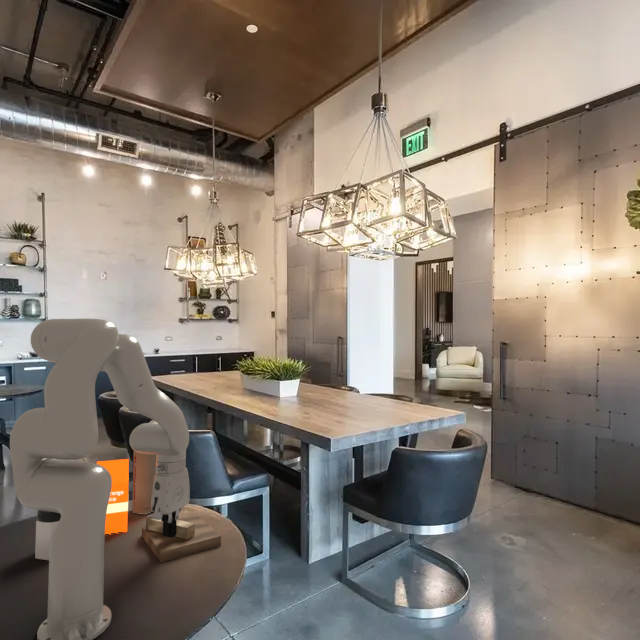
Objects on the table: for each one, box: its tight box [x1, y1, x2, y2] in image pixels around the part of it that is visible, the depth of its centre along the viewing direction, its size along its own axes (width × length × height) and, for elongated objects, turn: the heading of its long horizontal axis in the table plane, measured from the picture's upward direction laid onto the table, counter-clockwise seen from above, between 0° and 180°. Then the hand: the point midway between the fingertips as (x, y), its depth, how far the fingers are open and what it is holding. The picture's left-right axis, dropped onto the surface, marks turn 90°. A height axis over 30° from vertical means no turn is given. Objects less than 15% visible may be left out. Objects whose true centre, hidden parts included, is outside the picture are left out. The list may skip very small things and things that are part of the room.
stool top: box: [141, 513, 222, 563], centre depth 124 cm, size 18×16×2 cm
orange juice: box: [96, 458, 130, 535], centre depth 131 cm, size 8×9×20 cm
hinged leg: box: [145, 513, 195, 539], centre depth 123 cm, size 16×3×3 cm, turn 65°
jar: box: [34, 510, 61, 561], centre depth 116 cm, size 9×8×12 cm
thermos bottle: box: [131, 422, 156, 514], centre depth 146 cm, size 8×8×28 cm
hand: (169, 535), depth 118 cm, fingers closed
